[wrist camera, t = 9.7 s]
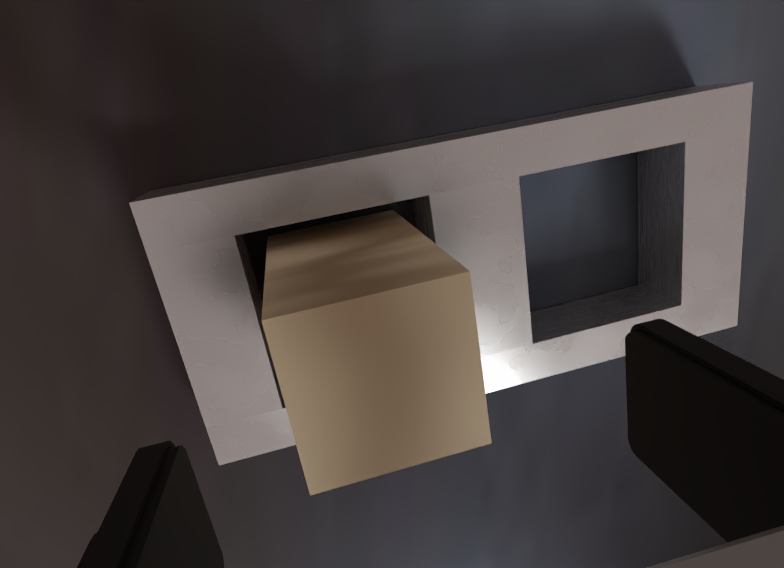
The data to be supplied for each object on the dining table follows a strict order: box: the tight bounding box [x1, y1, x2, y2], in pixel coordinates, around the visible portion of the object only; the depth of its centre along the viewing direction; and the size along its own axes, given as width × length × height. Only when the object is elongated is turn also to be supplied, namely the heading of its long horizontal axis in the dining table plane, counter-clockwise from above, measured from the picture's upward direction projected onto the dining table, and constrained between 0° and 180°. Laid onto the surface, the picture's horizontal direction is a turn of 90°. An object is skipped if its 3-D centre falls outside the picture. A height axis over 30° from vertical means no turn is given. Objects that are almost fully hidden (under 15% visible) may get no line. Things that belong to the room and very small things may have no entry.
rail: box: [129, 82, 753, 465], centre depth 18 cm, size 20×9×2 cm, turn 100°
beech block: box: [261, 210, 492, 495], centre depth 15 cm, size 4×4×8 cm
